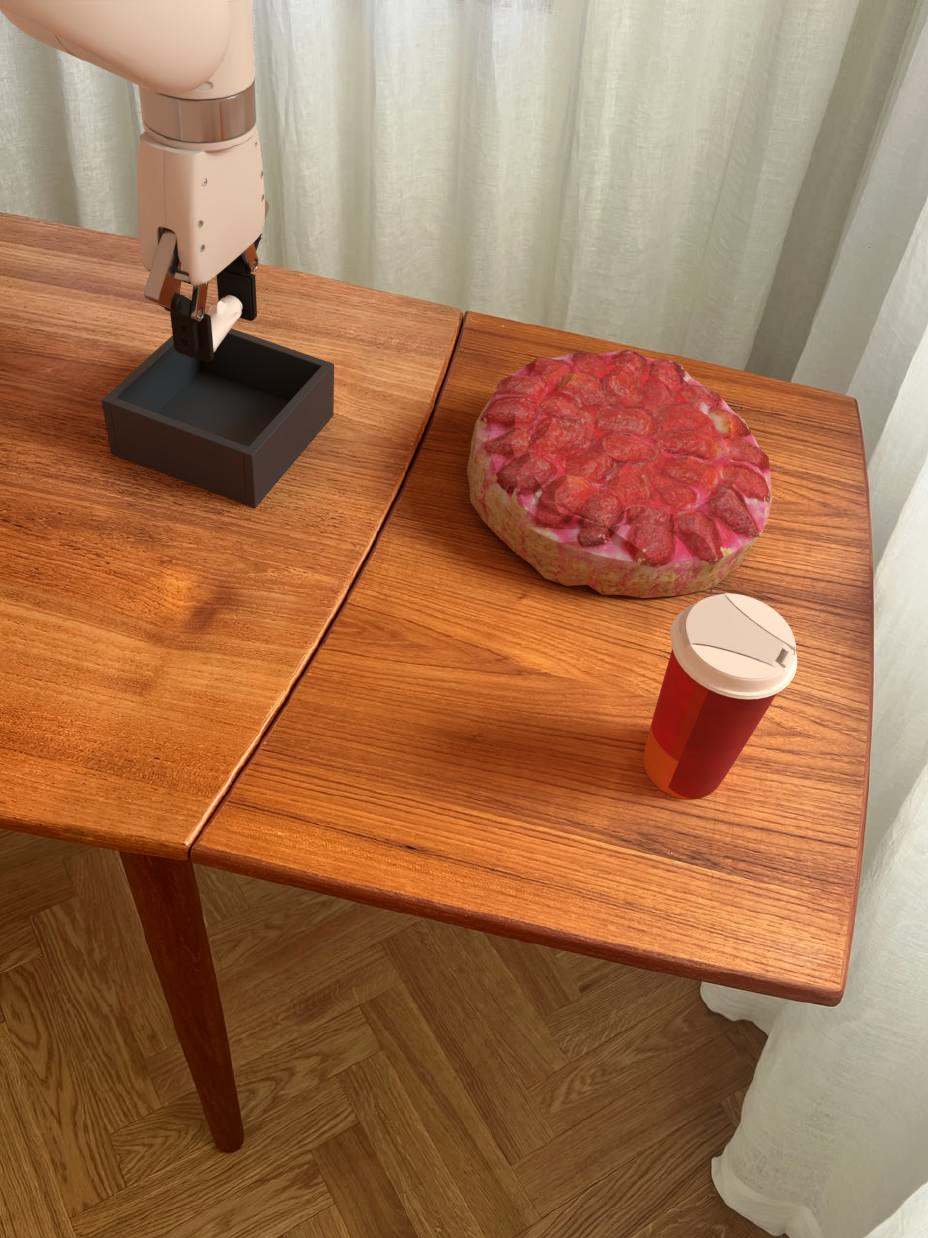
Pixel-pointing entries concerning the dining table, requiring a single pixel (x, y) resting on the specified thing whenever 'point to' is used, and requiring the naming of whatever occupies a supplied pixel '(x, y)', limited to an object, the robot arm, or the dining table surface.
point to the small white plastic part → (224, 317)
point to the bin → (221, 414)
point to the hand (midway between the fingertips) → (216, 332)
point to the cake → (619, 474)
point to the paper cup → (716, 690)
